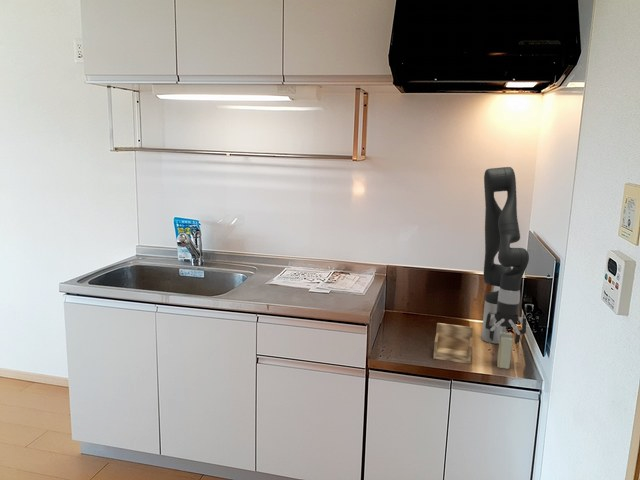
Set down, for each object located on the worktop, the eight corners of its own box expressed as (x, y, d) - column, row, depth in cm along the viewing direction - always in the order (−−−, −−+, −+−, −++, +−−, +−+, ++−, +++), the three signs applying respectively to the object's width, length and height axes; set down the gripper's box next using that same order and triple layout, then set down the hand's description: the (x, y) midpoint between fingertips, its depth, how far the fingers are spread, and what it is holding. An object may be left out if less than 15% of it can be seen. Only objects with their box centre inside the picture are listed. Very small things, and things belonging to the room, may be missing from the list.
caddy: (470, 352, 202) (473, 327, 200) (470, 363, 192) (473, 336, 190) (435, 348, 206) (437, 322, 204) (433, 358, 196) (435, 331, 194)
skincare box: (496, 360, 196) (499, 331, 193) (508, 362, 194) (512, 333, 192) (497, 367, 190) (500, 337, 187) (509, 369, 188) (513, 339, 186)
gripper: (528, 300, 188) (523, 340, 191) (488, 295, 193) (484, 335, 196) (529, 305, 181) (524, 348, 184) (488, 300, 186) (484, 342, 189)
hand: (503, 341), depth 190 cm, fingers open, 8 cm apart
